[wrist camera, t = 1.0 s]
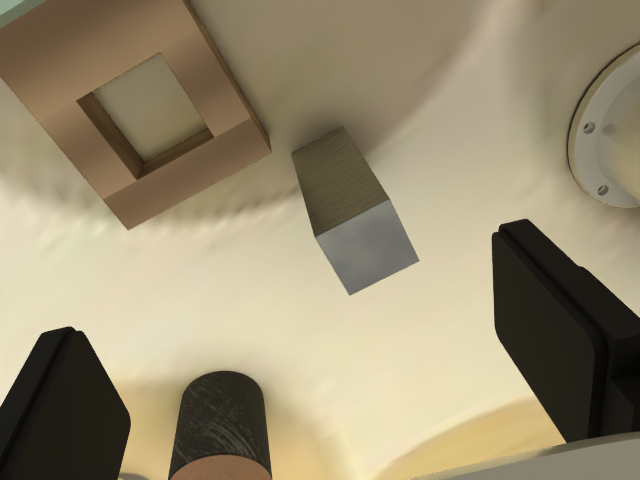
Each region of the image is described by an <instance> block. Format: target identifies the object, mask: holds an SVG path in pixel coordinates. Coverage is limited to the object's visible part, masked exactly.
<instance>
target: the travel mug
mask: <svg viewBox="0 0 640 480" xmlns="http://www.w3.org/2000/svg"><path fill="white" fill-rule="evenodd" d="M168 480H272V472H271V462H270V453H269V443H268V434H267V424H266V415H265V406H264V399H263V394H262V391H261V389H260V387H259V386H258V385H257V383H256V382H254V381H253V380H252V379H251V378H249V377H247V376H245V375H243V374H240V373H236V372H229V371H222V372H214V373H210V374H206V375H204V376H202V377H200V378H198V379H196V380H195V381H193V382H192V383H191V384H190V385H189V386H188V387H187V389H186V390H185V392H184V394H183V396H182V400H181V405H180V410H179V416H178V422H177V428H176V434H175V440H174V446H173V452H172V458H171V464H170V470H169V476H168Z"/></svg>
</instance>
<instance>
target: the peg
mask: <svg viewBox="0 0 640 480" xmlns="http://www.w3.org/2000/svg"><path fill="white" fill-rule="evenodd" d="M291 155H292V158H293V162H294V166H295V169H296V173H297V176H298V180H299V183H300V187H301V190H302V194H303V197H304V201H305V204H306V208H307V212H308V215H309V219H310V222H311V226H312V229H313V233H314V236H315V239H316V240H317V242H318V244H319V245H320V247H321V249H322V250H323V252H324V254H325V255H326V257H327V259H328V260H329V262H330V264H331V265H332V267H333V269H334V270H335V272H336V274H337V275H338V277H339V279H340V280H341V282H342V284H343V285H344V287H345V289H346V290H347V292H348V294H349V295H352V294H354V293H356V292H358V291H360V290H362V289H364V288H366V287H368V286H370V285H372V284H374V283H376V282H378V281H380V280H382V279H384V278H386V277H388V276H390V275H392V274H394V273H396V272H398V271H400V270H402V269H404V268H406V267H408V266H410V265H412V264H414V263H416V262H418V261H419V259H418V257H417V255H416V253H415V250H414V248H413V246H412V244H411V242H410V240H409V238H408V236H407V234H406V232H405V230H404V228H403V225H402V223H401V221H400V219H399V217H398V215H397V213H396V211H395V209H394V207H393V205H392V202H391V200H390V198H389V197H388V195H387V194H386V192H385V191H384V189H383V187H382V186H381V184H380V183H379V181H378V180H377V178H376V176H375V175H374V173H373V172H372V170H371V169H370V167H369V166H368V164H367V162H366V161H365V159H364V158H363V156H362V155H361V153H360V151H359V150H358V148H357V147H356V145H355V144H354V142H353V140H352V139H351V137H350V136H349V134H348V133H347V131H346V129H345V128H344V126H342V127H340V128H339V129H337V130H335V131H333V132H331V133H329V134H327V135H326V136H324V137H322V138H320V139H318V140H316V141H314V142H313V143H311V144H309V145H307V146H305V147H303V148H301V149H300V150H298V151H296V152H294V153H292V154H291Z"/></svg>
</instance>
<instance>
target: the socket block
mask: <svg viewBox="0 0 640 480" xmlns="http://www.w3.org/2000/svg"><path fill="white" fill-rule="evenodd" d="M159 52H160V53H161V55H162V57H163V58H164V60H165V61H166V63H167V64H168V66H169V67H170V69H171V71H172V72H173V74H174V75H175V77H176V78H177V80H178V81H179V83H180V85H181V86H182V88H183V89H184V91H185V92H186V94H187V95H188V97H189V98H190V100H191V102H192V103H193V105H194V106H195V108H196V109H197V111H198V112H199V114H200V116H201V117H202V119H203V120H204V122H205V123H206V125H207V126H208V128H207V129H205V130H203V131H202V132H200V133H198V134H196V135H194V136H193V137H191V138H189V139H187V140H185V141H184V142H182V143H180V144H178V145H177V146H175V147H173V148H171V149H169V150H168V151H166V152H164V153H162V154H160V155H159V156H157V157H155V158H153V159H151V160H150V161H148V162H146V163H144V162H143V161H142V159H141V158H140V157H139V155H138V154H137V153H136V151H135V150H134V149H133V147H132V146H131V145H130V143H129V142H128V141H127V139H126V138H125V137H124V135H123V134H122V133H121V131H120V130H119V128H118V127H117V126H116V124H115V123H114V122H113V120H112V119H111V118H110V116H109V115H108V114H107V112H106V111H105V110H104V108H103V107H102V106H101V104H100V103H99V102H98V100H97V99H96V98H95V96H94V95H93V94H92V91H93V90H95V89H97V88H98V87H100V86H102V85H104V84H105V83H107V82H109V81H111V80H112V79H114V78H116V77H117V76H119V75H121V74H123V73H124V72H126V71H128V70H129V69H131V68H133V67H135V66H136V65H138V64H140V63H141V62H143V61H145V60H147V59H148V58H150V57H152V56H153V55H155V54H157V53H159ZM0 77H1V78H2V79H3V80H4V81H5V83H6V84H7V85H8V86H9V88H10V89H11V90H12V91H13V92H14V94H15V95H16V96H17V97H18V98H19V100H20V101H21V102H22V103H23V104H24V106H25V107H26V108H27V109H28V110H29V112H30V113H31V114H32V115H33V116H34V118H35V119H36V120H37V121H38V122H39V124H40V125H41V126H42V127H43V129H44V130H45V131H46V132H47V133H48V135H49V136H50V137H51V138H52V139H53V141H54V142H55V143H56V144H57V145H58V147H59V148H60V149H61V150H62V151H63V153H64V154H65V155H66V156H67V157H68V159H69V160H70V161H71V162H72V163H73V165H74V166H75V167H76V168H77V170H78V171H79V172H80V173H81V174H82V176H83V177H84V178H85V179H86V180H87V182H88V183H89V184H90V185H91V186H92V188H93V189H94V190H95V191H96V192H97V194H98V195H99V196H100V197H101V198H102V200H103V201H104V202H105V203H106V204H107V206H108V207H109V208H110V209H111V211H112V212H113V213H114V214H115V215H116V217H117V218H118V219H119V220H120V221H121V223H122V224H123V225H124V226H125V227H126V229H127V230H130V229H132V228H134V227H135V226H137V225H139V224H141V223H143V222H145V221H146V220H148V219H150V218H152V217H154V216H156V215H158V214H159V213H161V212H163V211H165V210H167V209H169V208H170V207H172V206H174V205H176V204H178V203H180V202H182V201H183V200H185V199H187V198H189V197H191V196H193V195H194V194H196V193H198V192H200V191H202V190H204V189H206V188H207V187H209V186H211V185H213V184H215V183H217V182H218V181H220V180H222V179H224V178H226V177H228V176H229V175H231V174H233V173H235V172H237V171H239V170H241V169H242V168H244V167H246V166H248V165H250V164H252V163H253V162H255V161H257V160H259V159H261V158H263V157H265V156H266V155H268V154H270V153H272V151H271V146H270V140H269V137H268V135H267V133H266V132H265V130H264V128H263V126H262V125H261V123H260V121H259V120H258V118H257V116H256V114H255V113H254V111H253V109H252V108H251V106H250V104H249V102H248V101H247V99H246V97H245V96H244V94H243V92H242V90H241V89H240V87H239V85H238V84H237V82H236V80H235V78H234V77H233V75H232V73H231V72H230V70H229V68H228V66H227V65H226V63H225V61H224V60H223V58H222V56H221V54H220V53H219V51H218V49H217V48H216V46H215V44H214V42H213V41H212V39H211V37H210V36H209V34H208V32H207V30H206V29H205V27H204V25H203V24H202V22H201V20H200V18H199V17H198V15H197V13H196V12H195V10H194V8H193V6H192V5H191V3H190V1H189V0H46V1H44V2H43V3H41V4H40V5H38V6H36V7H35V8H33V9H31V10H30V11H28V12H26V13H25V14H23V15H22V16H20V17H18V18H17V19H15V20H13V21H12V22H10V23H8V24H7V25H5V26H4V27H2V28H0Z"/></svg>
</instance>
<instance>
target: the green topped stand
mask: <svg viewBox="0 0 640 480" xmlns="http://www.w3.org/2000/svg"><path fill="white" fill-rule="evenodd" d="M44 1H46V0H0V28H2V27H4V26H5V25H7V24H8V23H10V22H12V21H13V20H15V19H17V18H18V17H20V16H22V15H23V14H25V13H26V12H28V11H30V10H31V9H33V8H35V7H36V6H38V5H40V4H41V3H43V2H44Z"/></svg>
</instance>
